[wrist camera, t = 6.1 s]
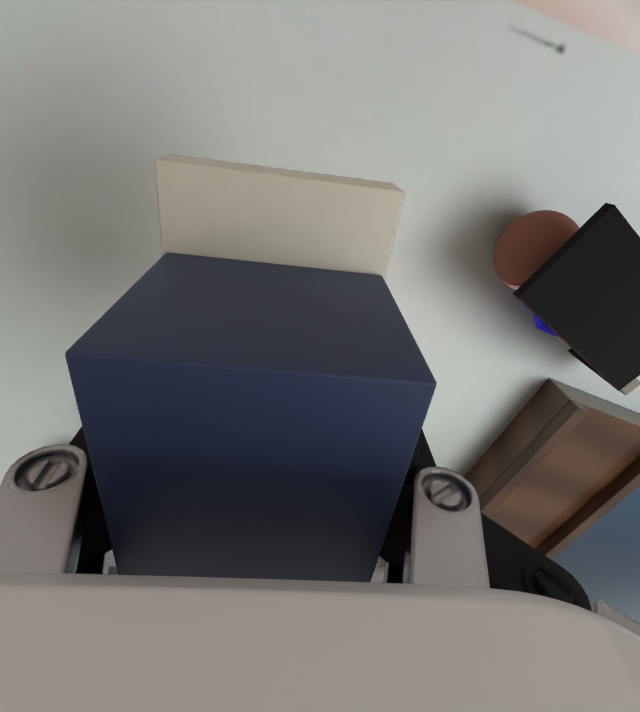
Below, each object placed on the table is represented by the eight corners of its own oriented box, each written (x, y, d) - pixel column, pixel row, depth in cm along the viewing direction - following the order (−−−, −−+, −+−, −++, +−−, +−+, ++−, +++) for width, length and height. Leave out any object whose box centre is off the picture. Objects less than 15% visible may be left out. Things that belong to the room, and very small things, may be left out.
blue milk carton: (171, 154, 9) (14, 196, 4) (393, 183, 9) (491, 252, 4) (193, 510, 15) (142, 695, 10) (325, 516, 15) (336, 695, 10)
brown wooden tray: (549, 377, 33) (578, 407, 29) (647, 416, 36) (684, 448, 32) (389, 564, 46) (396, 600, 42) (470, 582, 48) (483, 617, 45)
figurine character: (641, 295, 31) (536, 173, 24) (738, 348, 25) (632, 203, 18) (569, 355, 33) (456, 259, 27) (640, 416, 27) (516, 311, 21)
